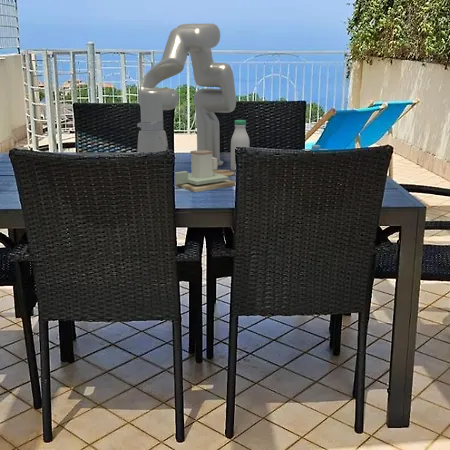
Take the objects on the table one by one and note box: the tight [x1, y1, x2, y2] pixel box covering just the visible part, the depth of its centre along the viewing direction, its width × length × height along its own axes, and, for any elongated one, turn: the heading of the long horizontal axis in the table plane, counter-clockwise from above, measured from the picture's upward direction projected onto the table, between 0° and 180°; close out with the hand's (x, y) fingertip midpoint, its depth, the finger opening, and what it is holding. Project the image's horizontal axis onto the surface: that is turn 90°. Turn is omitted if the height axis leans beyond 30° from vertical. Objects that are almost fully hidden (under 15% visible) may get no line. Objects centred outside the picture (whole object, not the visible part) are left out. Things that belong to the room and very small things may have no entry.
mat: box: [213, 169, 235, 177], centre depth 242 cm, size 12×12×1 cm
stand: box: [175, 179, 236, 193], centre depth 223 cm, size 18×18×2 cm
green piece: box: [174, 170, 230, 185], centre depth 220 cm, size 14×22×5 cm, turn 126°
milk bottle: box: [230, 119, 251, 172], centre depth 247 cm, size 8×8×20 cm
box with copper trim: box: [190, 149, 218, 178], centre depth 222 cm, size 6×8×9 cm
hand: (154, 179), depth 216 cm, fingers closed
